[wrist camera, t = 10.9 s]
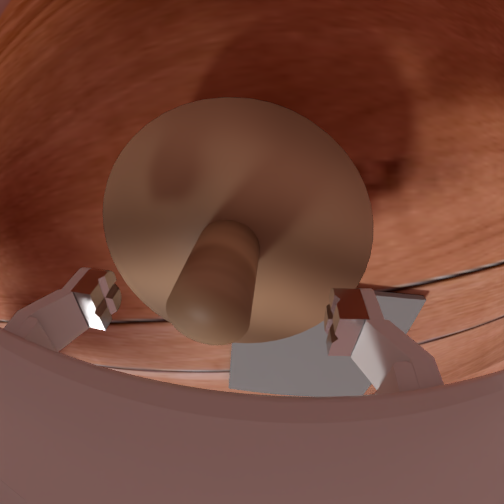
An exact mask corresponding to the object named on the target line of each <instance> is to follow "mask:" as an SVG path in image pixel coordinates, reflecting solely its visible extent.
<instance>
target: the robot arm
mask: <svg viewBox="0 0 504 504" xmlns="http://www.w3.org/2000/svg"><path fill="white" fill-rule="evenodd" d="M115 282H116V277H115V274H114V272H112V271H109V270H102V269H95V268H87V267H82V268H80V269H79V270H78V271H77V272H76V273H75V274H74V276H73V277H72V278H71V279H70V280H69V281H68V282H67V283H66V285H65V286H64V287H63V288H62V289H61V290H59V289H58V290H56V291H54V292H52V293H51V294H49V295H47V296H45V297H43V298H41V299H39V300H37V301H35V302H33V303H31V304H30V305H28V306H26V307H24V308H22V309H20V310H18V311H17V312H16V313H15V315H14V316H13V317H12V318H11V320H10V321H9V322H8V324H7V325H6V326H5V327H4V329H3V328H1V327H0V504H504V370H501V371H498V372H494V373H491V374H488V375H484V376H480V377H476V378H472V379H468V380H464V381H460V382H455V383H450V384H445V385H444V384H443V381H442V378H441V375H440V372H439V370H438V367H437V364H436V362H435V359H434V357H433V356H432V355H430V354H429V353H428V352H427V351H426V350H424V349H423V348H422V347H421V346H420V345H419V344H417V343H416V342H415V341H414V340H412V339H411V338H410V337H409V336H408V335H406V334H405V333H404V332H403V331H402V330H400V329H399V328H398V327H397V326H395V325H394V324H393V323H392V322H390V321H389V320H385V319H384V317H383V314H382V311H381V308H380V306H379V303H378V301H377V298H376V295H375V293H374V290H373V289H372V288H358V289H351V288H331V290H330V293H329V302H330V304H328V305H327V306H326V310H325V316H324V329H325V332H326V333H327V334H328V336H327V339H326V345H327V353H328V356H351V358H352V360H353V361H354V362H355V363H356V364H357V366H358V367H359V368H360V369H361V371H362V372H363V373H364V374H365V376H366V377H367V378H368V379H369V381H370V382H371V383H372V384H373V386H374V387H375V388H376V389H377V391H376V392H375V394H371V395H357V396H333V397H296V396H271V395H255V394H243V393H233V392H224V391H216V390H208V389H201V388H195V387H189V386H183V385H177V384H172V383H167V382H162V381H157V380H152V379H148V378H143V377H139V376H135V375H131V374H127V373H123V372H119V371H115V370H112V369H108V368H105V367H101V366H98V365H94V364H91V363H88V362H85V361H82V360H79V359H76V358H73V357H70V356H67V355H64V354H62V353H59V351H60V350H61V349H63V348H64V347H65V346H66V345H68V344H69V343H70V342H72V341H73V340H74V339H76V338H77V337H78V336H79V335H81V334H82V333H83V332H85V331H86V330H87V329H89V327H90V328H95V329H100V330H106V329H107V327H108V325H109V324H110V322H111V320H112V314H113V313H115V312H117V310H118V309H119V307H120V304H121V292H120V289H119V288H118V287H117V286H116V284H115Z"/></svg>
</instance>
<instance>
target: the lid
mask: <svg viewBox="0 0 504 504" xmlns="http://www.w3.org/2000/svg"><path fill="white" fill-rule="evenodd" d="M103 225H104V232H105V237H106V242H107V245H108V248H109V251H110V254H111V257H112V259H113V261H114V263H115V265H116V267H117V269H118V271H119V273H120V274H121V276H122V277H123V279H124V281H125V282H126V283H127V285H128V286H129V287H130V289H131V290H132V291H133V292H134V293H135V294H136V296H137V297H138V298H139V299H140V300H141V301H142V302H143V303H144V304H146V305H147V306H148V307H149V308H150V309H151V310H153V311H154V312H155V313H157V314H158V315H159V316H161V317H162V318H164V319H165V320H167V321H169V322H170V323H172V325H173V326H174V327H175V328H176V329H177V330H178V331H179V332H180V333H182V334H183V335H185V336H186V337H188V338H190V339H192V340H194V341H197V342H200V343H203V344H208V345H226V344H230V343H263V342H269V341H276V340H280V339H284V338H288V337H291V336H294V335H296V334H299V333H302V332H304V331H306V330H308V329H310V328H312V327H314V326H316V325H318V324H319V323H321V322H322V321H324V316H325V310H326V306H327V305H328V304H330V302H329V293H330V290H331V288H351V289H356V287H357V286H358V284H359V282H360V280H361V278H362V276H363V274H364V272H365V270H366V267H367V264H368V261H369V258H370V254H371V249H372V243H373V215H372V208H371V203H370V200H369V196H368V193H367V190H366V186H365V184H364V182H363V180H362V178H361V176H360V174H359V172H358V170H357V168H356V167H355V165H354V164H353V162H352V161H351V159H350V158H349V156H348V155H347V153H346V152H345V151H344V150H343V149H342V148H341V147H340V145H339V144H338V143H337V142H336V141H335V140H334V139H333V138H332V137H331V136H330V135H329V134H327V133H326V132H325V131H324V130H322V129H321V128H320V127H318V126H317V125H316V124H314V123H313V122H312V121H310V120H309V119H307V118H305V117H303V116H302V115H300V114H298V113H296V112H294V111H292V110H290V109H288V108H285V107H282V106H280V105H277V104H274V103H271V102H267V101H262V100H257V99H252V98H236V97H222V98H212V99H204V100H199V101H196V102H192V103H188V104H185V105H181V106H179V107H177V108H175V109H172V110H170V111H168V112H166V113H164V114H162V115H160V116H159V117H157V118H156V119H154V120H153V121H151V122H150V123H148V124H147V125H146V126H145V127H143V128H142V129H141V130H140V131H139V132H138V133H137V134H136V135H135V136H134V137H133V138H132V139H131V140H130V141H129V143H128V144H127V145H126V146H125V148H124V149H123V150H122V152H121V153H120V155H119V157H118V158H117V160H116V162H115V164H114V165H113V168H112V170H111V173H110V176H109V178H108V181H107V185H106V189H105V194H104V202H103Z"/></svg>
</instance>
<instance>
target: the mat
mask: <svg viewBox="0 0 504 504" xmlns="http://www.w3.org/2000/svg"><path fill="white" fill-rule="evenodd" d="M374 293H375V295H376V298H377V301H378V303H379V306H380V308H381V311H382V314H383V317H384V319H385V320H389V321H390V322H392V323H393V324H394V325H395V326H397V327H398V328H399V329H400V330H402V331H403V332H404V333H405V334H406V333H407V332H408V330H409V329H410V327H411V325H412V324H413V322H414V320H415V319H416V317H417V315H418V314H419V312H420V310H421V308H422V306H423V305H424V303H425V301H426V299H425V297H424V296H422V295H411V294H401V293H391V292H381V291H374ZM327 336H328V334H327V333H326V332H325V329H324V321H322V322H321V323H319V324H318V325H316V326H314V327H312V328H310V329H308V330H306V331H304V332H302V333H299V334H296V335H294V336H291V337H288V338H284V339H280V340H276V341H269V342H263V343H232V351H231V364H230V378H229V388H230V389H237V390H244V391H252V392H261V393H270V394H281V395H294V396H312V397H333V396H357V395H363V394H364V393H365V391H366V390H367V389H368V388H369V386H370V385H371V384H372V383H371V382H370V381H369V379H368V378H367V377H366V376H365V374H364V373H363V372H362V371H361V369H360V368H359V367H358V366H357V364H356V363H355V362H354V361H353V360H352V358H351V356H328V353H327V345H326V339H327Z"/></svg>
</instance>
